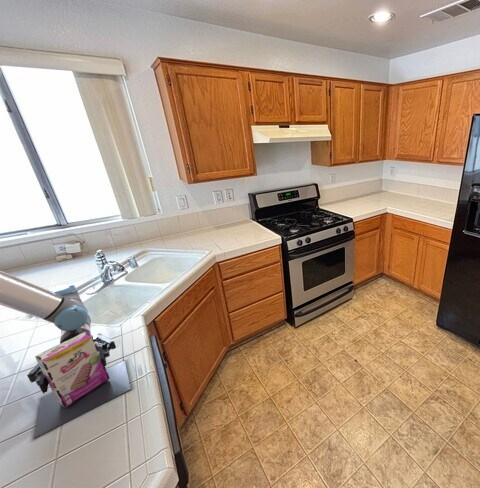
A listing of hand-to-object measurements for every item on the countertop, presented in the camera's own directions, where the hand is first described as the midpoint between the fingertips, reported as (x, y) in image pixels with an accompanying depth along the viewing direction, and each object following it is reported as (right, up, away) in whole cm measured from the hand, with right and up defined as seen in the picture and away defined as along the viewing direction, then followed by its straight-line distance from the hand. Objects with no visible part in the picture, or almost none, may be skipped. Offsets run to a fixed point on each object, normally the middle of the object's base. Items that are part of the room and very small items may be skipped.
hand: (74, 374), depth 72 cm
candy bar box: (-2, -7, +5) cm, 9 cm away
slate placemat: (-1, -8, +5) cm, 10 cm away
